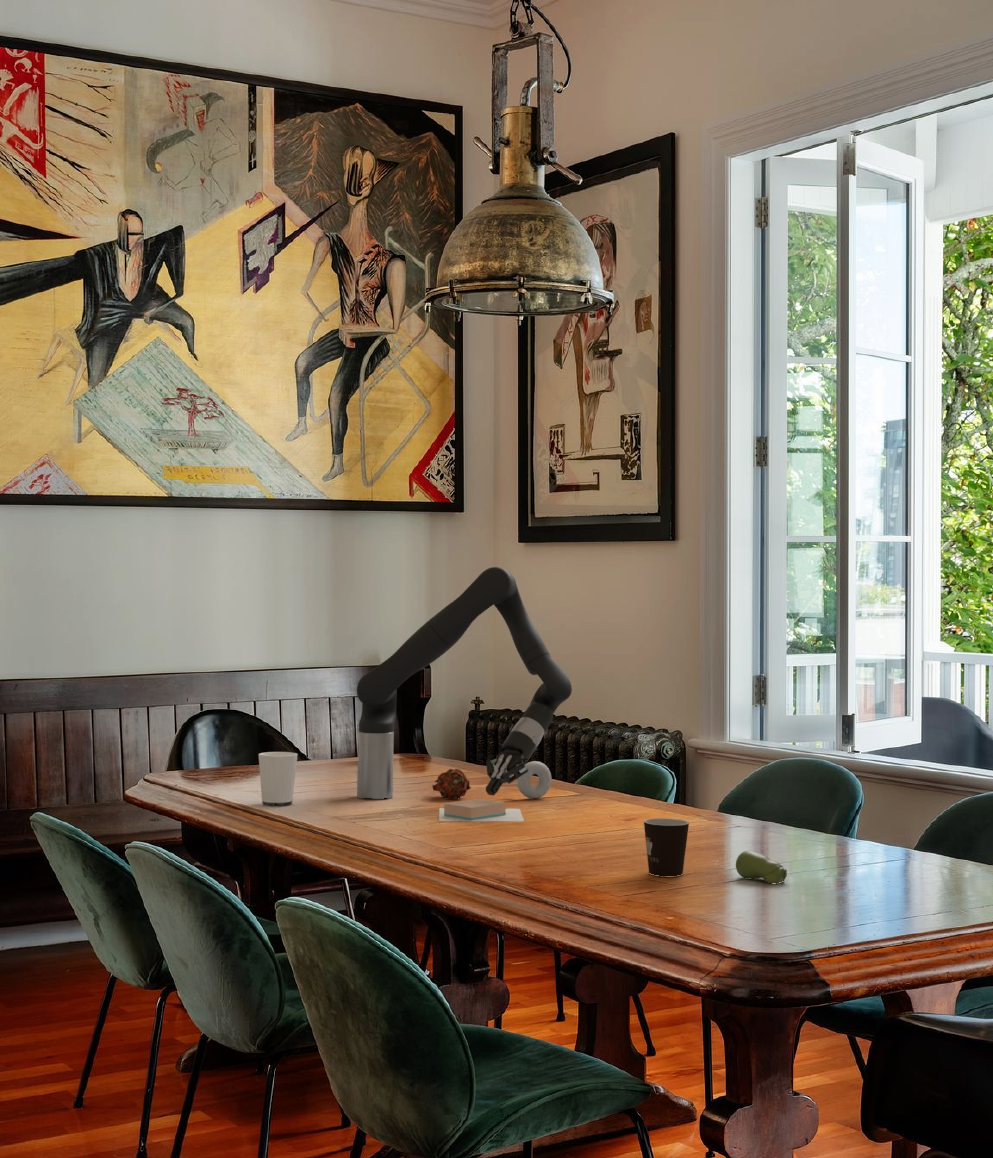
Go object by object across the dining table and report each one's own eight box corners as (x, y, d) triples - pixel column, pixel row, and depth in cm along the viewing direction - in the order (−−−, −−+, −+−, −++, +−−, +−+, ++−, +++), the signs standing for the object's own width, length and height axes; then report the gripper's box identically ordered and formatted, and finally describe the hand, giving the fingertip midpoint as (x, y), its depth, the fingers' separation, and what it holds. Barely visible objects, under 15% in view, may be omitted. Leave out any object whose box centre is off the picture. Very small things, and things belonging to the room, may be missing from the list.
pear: (747, 845, 262) (794, 861, 256) (743, 872, 262) (789, 888, 256) (732, 849, 258) (779, 865, 251) (728, 876, 258) (774, 892, 252)
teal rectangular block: (478, 798, 335) (444, 803, 327) (505, 802, 329) (471, 807, 321) (478, 810, 335) (444, 815, 327) (505, 815, 329) (471, 820, 320)
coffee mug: (687, 879, 256) (688, 826, 256) (641, 877, 258) (642, 824, 258) (689, 868, 268) (690, 817, 268) (645, 865, 269) (646, 815, 269)
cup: (293, 807, 340) (294, 756, 340) (254, 806, 339) (255, 755, 340) (299, 801, 349) (300, 752, 350) (261, 801, 349) (261, 751, 350)
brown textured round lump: (463, 807, 354) (438, 808, 364) (483, 786, 359) (458, 787, 368) (445, 782, 352) (420, 783, 362) (466, 761, 357) (441, 763, 366)
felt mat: (439, 822, 320) (439, 820, 320) (439, 809, 339) (439, 807, 340) (524, 822, 320) (524, 821, 320) (519, 810, 340) (519, 808, 340)
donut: (547, 797, 365) (548, 759, 365) (553, 798, 362) (554, 761, 362) (514, 798, 360) (514, 761, 360) (520, 800, 357) (520, 762, 357)
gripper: (497, 727, 344) (462, 780, 334) (536, 731, 335) (502, 785, 325) (510, 747, 347) (477, 800, 338) (550, 751, 338) (516, 806, 329)
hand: (489, 793), depth 332 cm, fingers closed
